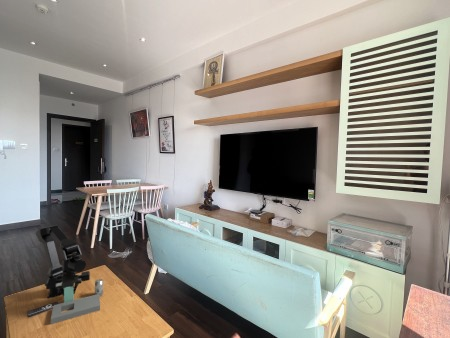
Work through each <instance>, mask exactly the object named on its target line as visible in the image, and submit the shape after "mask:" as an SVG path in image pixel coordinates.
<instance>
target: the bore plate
mask: <svg viewBox="0 0 450 338" xmlns="http://www.w3.org/2000/svg"><path fill="white" fill-rule="evenodd" d="M100 297H101V296H100ZM100 297H99V294H96V295H95V294H93V295H89V296H85V297H82V298H77V299H73V301H69V302H65V303H64V302H62V303H58V304H57V303H56V304H54V305H53V307H52V312H51V316H50V325H53V324H56V323H59V322H64V321H67V320H70V319H74V318H77V317H80V316H85V315H88V314H91V313H94V312H95V313H96V312H98V311H100V310H101V302H100V301H101V300H100V299H101V298H100Z"/></svg>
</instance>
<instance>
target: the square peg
mask: <svg viewBox="0 0 450 338" xmlns="http://www.w3.org/2000/svg"><path fill="white" fill-rule="evenodd" d="M74 285H75V284H74ZM74 285H73V286H71V287H66V288H64V297H63V303H65V302H69V301H73V300H75V297H74V296H75V294H74Z"/></svg>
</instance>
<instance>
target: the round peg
mask: <svg viewBox="0 0 450 338" xmlns="http://www.w3.org/2000/svg"><path fill="white" fill-rule="evenodd" d="M96 294H99V297H101V296H103V295H104V279H102V278H98V279H96V280H95V281H94V295H96Z"/></svg>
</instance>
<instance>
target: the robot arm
mask: <svg viewBox="0 0 450 338" xmlns="http://www.w3.org/2000/svg"><path fill="white" fill-rule="evenodd" d="M35 236H36V237H37V239H38V241H39V242H41V243H42V244H43V248H44V252H45V256H46V259H47V264H48V268H49V269H48V271H47V274H46V275H47V278H46V279H45V280H44V286H45V289H46V290H48V293H47V294H48V295H47V297H46V298H47V299H51V298H54V297H58V296H59V297H60V296H63V298H64V288H66V287H71V286H73V285H74V295H75V294H76V291H77V289H78V286H79V285H80V284H81V283H83V282H86V281H90V278H91V275H90V272H91V271H89V270H87V271H84V270H85V268H86V266H87V263H86V261H85V260H83V258H82V257H80V256H82V250H81V248H80V246H79V244H78V243H77V242H76V241H75V240H73V239H69V238H68V236H67V235H66V234H65V233H64V232H63V231H62V230H61V228H60V226H59V225H58V224H56V225H50V226H45V227H41V228H38V229H37V230H36V231H35ZM55 242H56V244H57V245H58V247H59V249H58V251H59V254H60V256H61V258H62V264H61V263H60V260H59V256H58V255H59V254H58V252H57V248H56V244H55ZM80 272H81V274H76V273H80Z"/></svg>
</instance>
